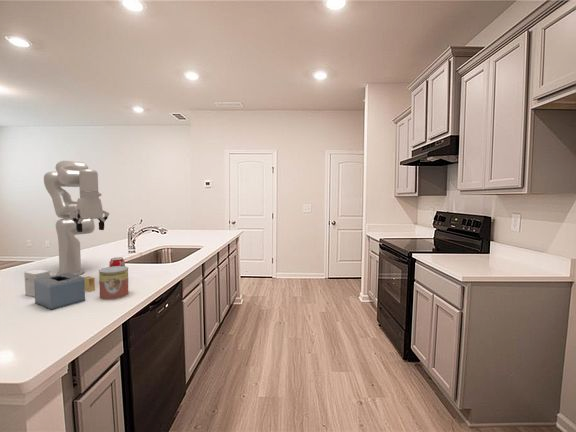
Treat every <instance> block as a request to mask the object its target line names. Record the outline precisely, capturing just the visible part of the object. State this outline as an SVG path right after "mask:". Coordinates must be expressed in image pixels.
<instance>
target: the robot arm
mask: <svg viewBox="0 0 576 432" xmlns="http://www.w3.org/2000/svg"><path fill="white" fill-rule="evenodd" d="M43 184H44V187H45V190H46V191H47V193H48V194H49V196H50V198H51V199H52V204H53V208H54V211H55V215H56V216H57V218H60V219H58V220H57V221H55V230H56V233H57V234H56V235H57V242H58V266H59V267H58V268H59V271H58V272H56V273H55V275H59V274H64V273H71V274H74V275H77V276H81V275H83V274H85V270H84V269H82V266H81V265H82V262H81V256H82V255H81V242H80V240H79V239H78V238H77V237H76V236H77V235H87V234H88V235H89V234H92V233H94V231H95V229H96V227H95V226H96V225H95V221H94V220H95V219H97V220H98V221H99V222H98V230H99V231H104V230H105V222H106V220H108V218H109V216H110V213H109V212H108V211H105V210H103V205H102V200H101V198H100V197H102V193H100V191H99V174H98V171H97V170H94V169H89V166H88V165H87V164H86V163H85V162H82V161H74V160H73V161H72V160H60V161H58V162H57V163H56V165H55V171H48V172H46V173H45V174H44V175H43ZM63 187H64V188H66V187H67V188H78V189H79V198H77V201H74V200H72V197H71V194H70V193H69V192H68V191H67V190H66V189H64V188H63Z"/></svg>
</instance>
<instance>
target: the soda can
mask: <svg viewBox="0 0 576 432" xmlns="http://www.w3.org/2000/svg"><path fill="white" fill-rule="evenodd" d="M108 265H109V266H108V267H113V266H126V261H125V259H124V257H120V256H119V257H118V256H117V257H112V258H110V261H109V264H108Z"/></svg>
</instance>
